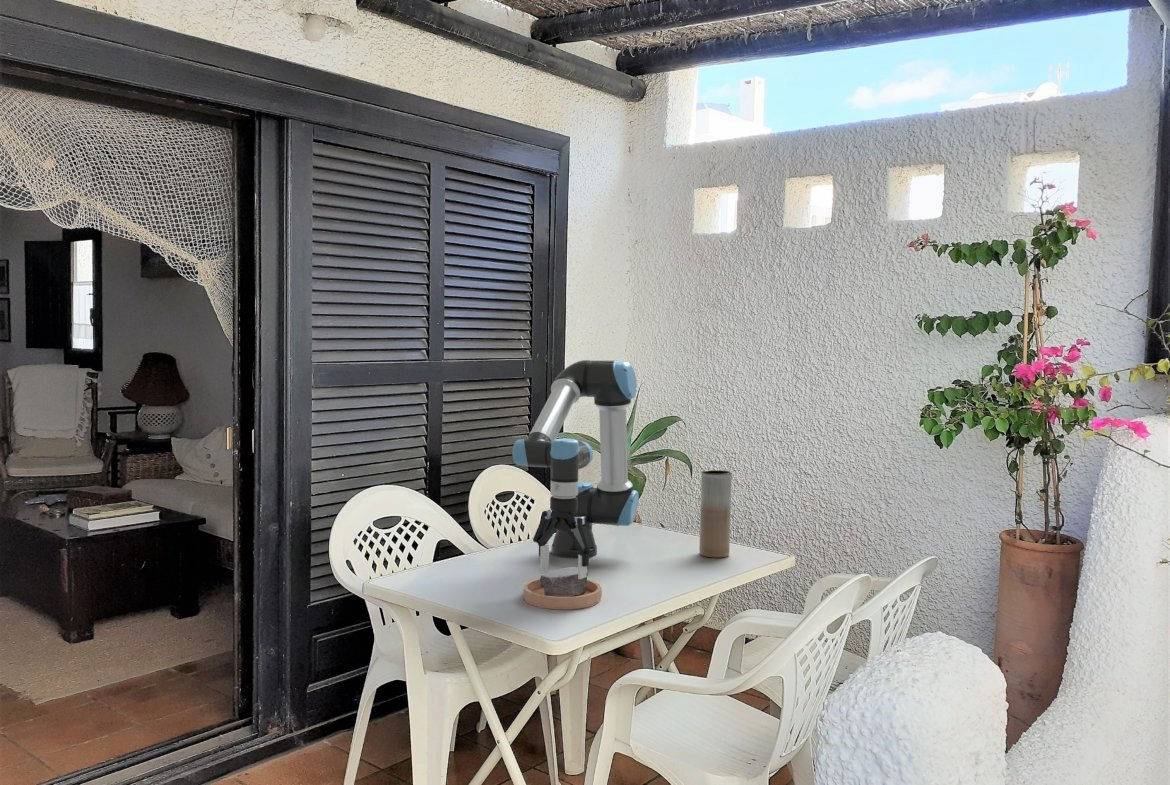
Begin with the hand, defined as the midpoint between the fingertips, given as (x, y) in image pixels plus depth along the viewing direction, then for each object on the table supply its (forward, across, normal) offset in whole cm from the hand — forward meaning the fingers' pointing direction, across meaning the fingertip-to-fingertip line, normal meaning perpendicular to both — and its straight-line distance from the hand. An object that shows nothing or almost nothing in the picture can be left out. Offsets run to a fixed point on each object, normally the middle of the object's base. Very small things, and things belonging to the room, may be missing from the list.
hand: (563, 573), depth 241 cm
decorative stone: (+6, +1, 0) cm, 6 cm away
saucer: (+7, 0, 0) cm, 7 cm away
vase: (+8, +4, +73) cm, 73 cm away
